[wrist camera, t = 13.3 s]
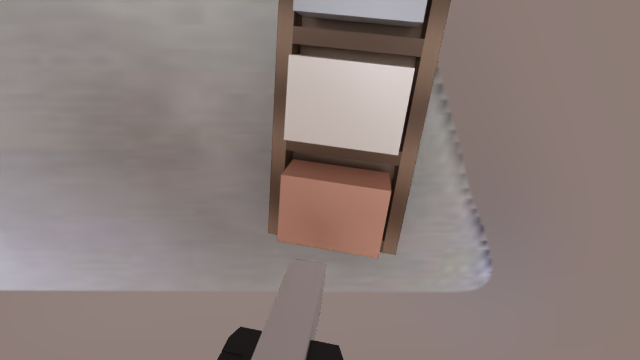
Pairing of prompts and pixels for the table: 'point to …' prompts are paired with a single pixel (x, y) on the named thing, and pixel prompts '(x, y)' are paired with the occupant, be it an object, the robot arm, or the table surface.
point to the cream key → (347, 103)
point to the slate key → (365, 11)
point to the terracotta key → (333, 207)
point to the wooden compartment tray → (367, 46)
